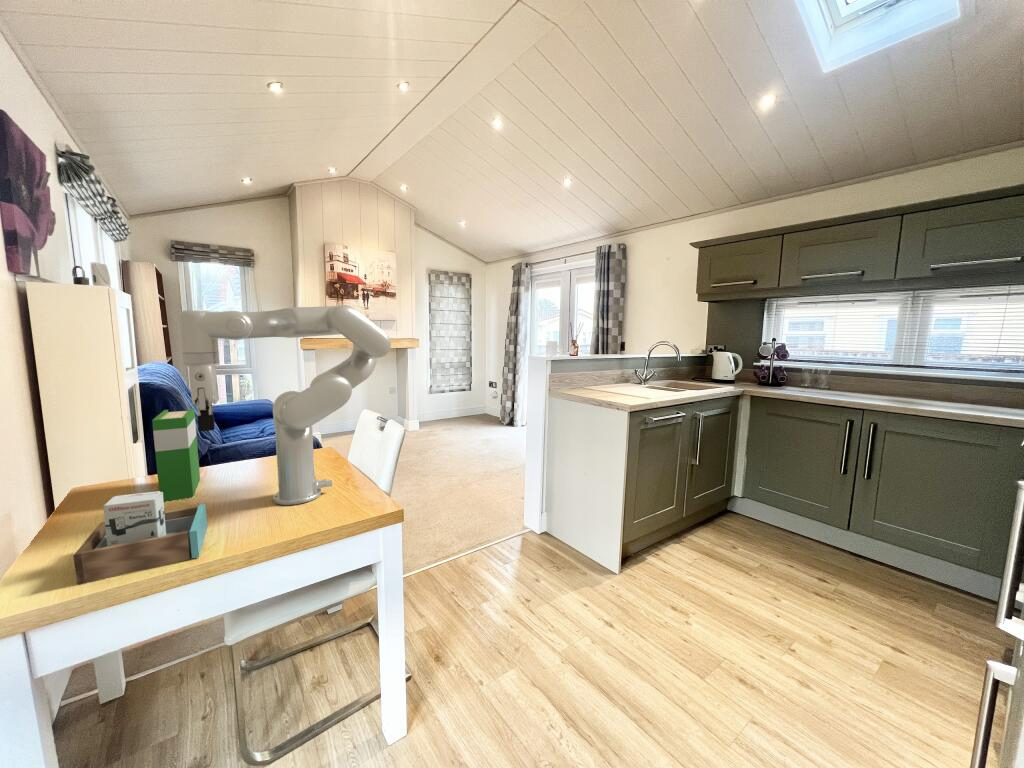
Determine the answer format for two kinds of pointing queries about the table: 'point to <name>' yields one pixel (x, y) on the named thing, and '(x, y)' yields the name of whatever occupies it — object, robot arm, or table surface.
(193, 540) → the tray
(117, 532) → the ink box
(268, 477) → the table surface
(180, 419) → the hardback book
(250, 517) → the table surface
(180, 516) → the storage unit
